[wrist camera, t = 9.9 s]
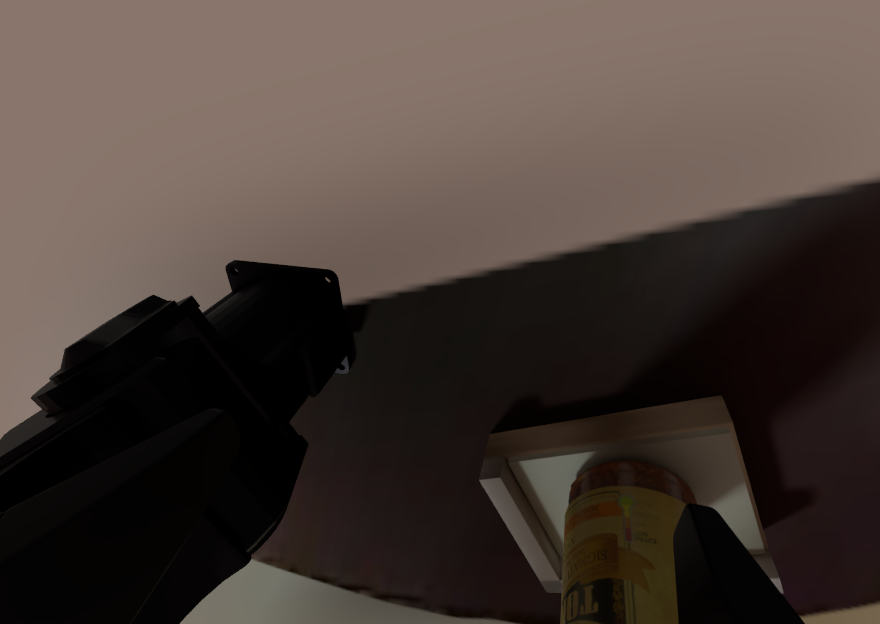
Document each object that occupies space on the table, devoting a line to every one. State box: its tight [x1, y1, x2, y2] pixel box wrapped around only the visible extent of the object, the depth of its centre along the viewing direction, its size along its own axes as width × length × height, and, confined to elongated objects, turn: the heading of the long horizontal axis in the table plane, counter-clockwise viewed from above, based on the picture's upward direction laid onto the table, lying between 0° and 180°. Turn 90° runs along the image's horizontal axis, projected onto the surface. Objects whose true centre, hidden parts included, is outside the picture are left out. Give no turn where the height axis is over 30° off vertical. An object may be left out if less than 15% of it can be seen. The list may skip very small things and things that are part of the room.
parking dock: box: [479, 395, 783, 593], centre depth 24 cm, size 12×10×3 cm
